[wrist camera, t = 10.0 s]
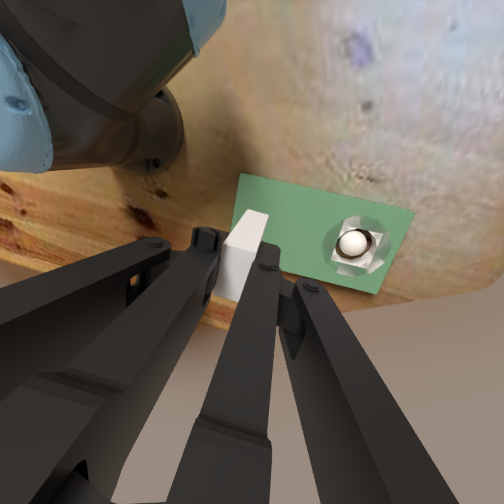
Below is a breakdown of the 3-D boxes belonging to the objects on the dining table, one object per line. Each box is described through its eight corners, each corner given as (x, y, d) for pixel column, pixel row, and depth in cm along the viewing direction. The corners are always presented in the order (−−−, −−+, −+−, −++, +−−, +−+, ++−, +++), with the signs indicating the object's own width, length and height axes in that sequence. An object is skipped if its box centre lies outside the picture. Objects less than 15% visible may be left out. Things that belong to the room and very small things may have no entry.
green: (229, 251, 44) (226, 256, 42) (243, 172, 39) (240, 173, 36) (372, 286, 42) (376, 294, 40) (407, 209, 37) (415, 213, 34)
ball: (333, 248, 37) (361, 247, 35) (338, 226, 39) (364, 224, 36) (341, 260, 40) (367, 260, 37) (344, 239, 41) (370, 238, 39)
